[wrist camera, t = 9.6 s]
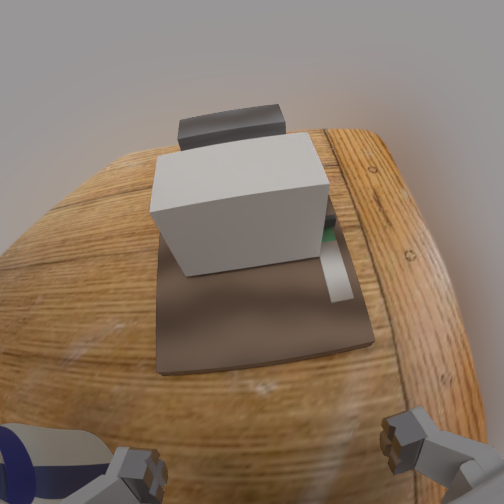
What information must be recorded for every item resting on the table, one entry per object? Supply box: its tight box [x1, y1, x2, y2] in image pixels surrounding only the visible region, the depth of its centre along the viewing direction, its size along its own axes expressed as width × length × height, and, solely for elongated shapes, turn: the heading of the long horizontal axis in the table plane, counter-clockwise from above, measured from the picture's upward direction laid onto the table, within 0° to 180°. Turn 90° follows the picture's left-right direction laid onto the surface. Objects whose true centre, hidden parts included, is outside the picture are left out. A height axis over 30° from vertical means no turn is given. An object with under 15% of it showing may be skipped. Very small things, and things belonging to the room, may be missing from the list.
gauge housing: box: [150, 132, 336, 277], centre depth 25 cm, size 8×14×9 cm, turn 97°
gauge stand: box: [156, 104, 375, 376], centre depth 26 cm, size 22×18×10 cm
